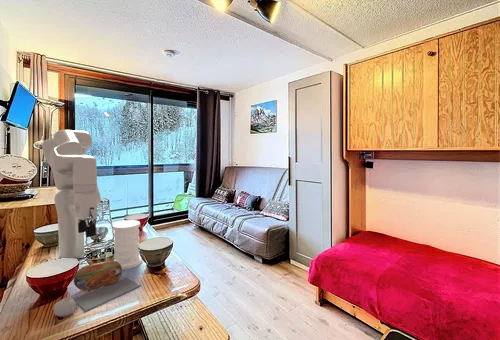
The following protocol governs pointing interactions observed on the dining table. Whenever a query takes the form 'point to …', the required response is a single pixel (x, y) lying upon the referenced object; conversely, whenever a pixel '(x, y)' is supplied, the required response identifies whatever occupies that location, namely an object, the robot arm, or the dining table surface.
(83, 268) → the tin
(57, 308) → the garlic
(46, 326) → the dining table surface
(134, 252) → the decorative container
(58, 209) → the robot arm
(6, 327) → the dining table surface
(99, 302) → the mat
